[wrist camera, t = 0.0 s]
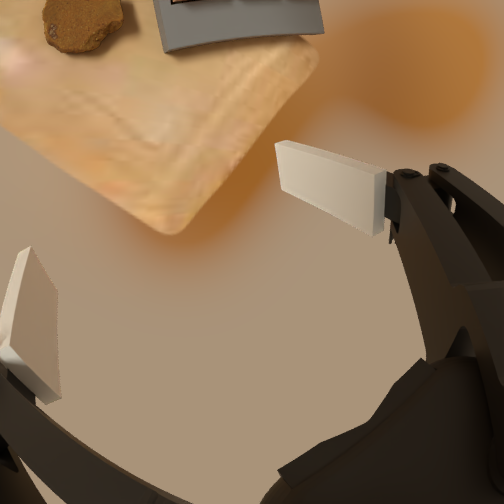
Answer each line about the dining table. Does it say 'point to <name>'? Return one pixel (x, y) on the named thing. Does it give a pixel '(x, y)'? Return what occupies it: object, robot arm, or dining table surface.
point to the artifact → (80, 23)
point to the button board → (234, 20)
